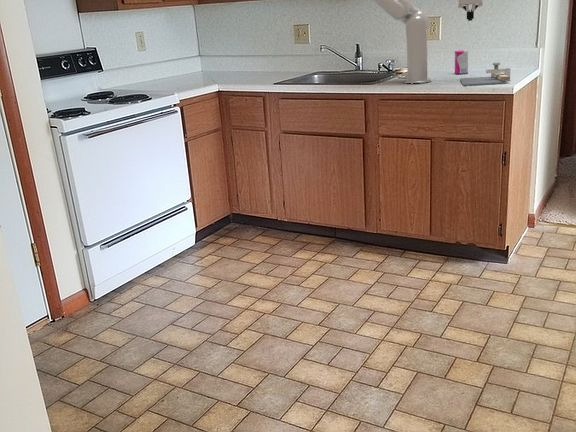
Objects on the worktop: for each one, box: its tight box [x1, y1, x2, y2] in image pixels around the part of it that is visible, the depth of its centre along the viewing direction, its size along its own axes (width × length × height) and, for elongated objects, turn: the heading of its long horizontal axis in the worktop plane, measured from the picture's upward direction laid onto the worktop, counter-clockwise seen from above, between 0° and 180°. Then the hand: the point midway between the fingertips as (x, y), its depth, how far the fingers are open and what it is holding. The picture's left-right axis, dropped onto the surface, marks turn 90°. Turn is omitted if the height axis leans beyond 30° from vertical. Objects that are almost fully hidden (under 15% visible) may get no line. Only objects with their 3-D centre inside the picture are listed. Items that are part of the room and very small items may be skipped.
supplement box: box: [454, 49, 469, 76], centre depth 314 cm, size 6×6×12 cm
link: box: [490, 62, 511, 82], centre depth 281 cm, size 18×4×6 cm, turn 178°
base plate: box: [459, 76, 507, 87], centre depth 284 cm, size 18×20×1 cm
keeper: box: [485, 67, 511, 77], centre depth 282 cm, size 10×2×5 cm, turn 79°
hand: (470, 20), depth 283 cm, fingers closed
